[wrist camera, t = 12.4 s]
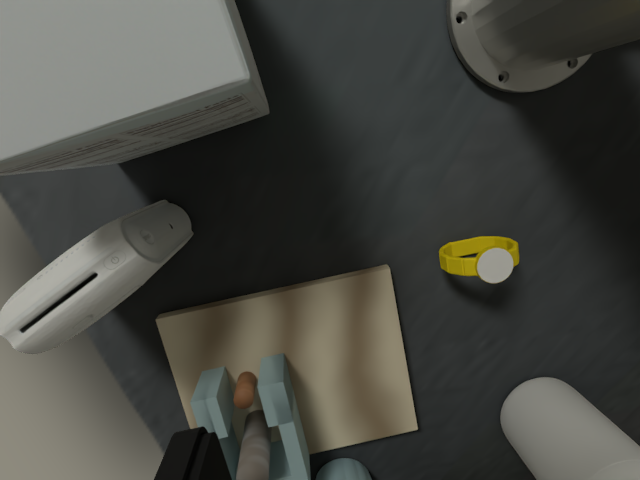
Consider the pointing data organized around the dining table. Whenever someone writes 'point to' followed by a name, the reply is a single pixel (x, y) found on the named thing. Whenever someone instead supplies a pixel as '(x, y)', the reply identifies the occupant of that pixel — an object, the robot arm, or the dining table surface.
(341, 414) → the board
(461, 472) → the dining table surface
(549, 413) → the pill bottle
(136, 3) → the supplement box
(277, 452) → the u-shaped channel block
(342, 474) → the cup
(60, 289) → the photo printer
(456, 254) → the watch
